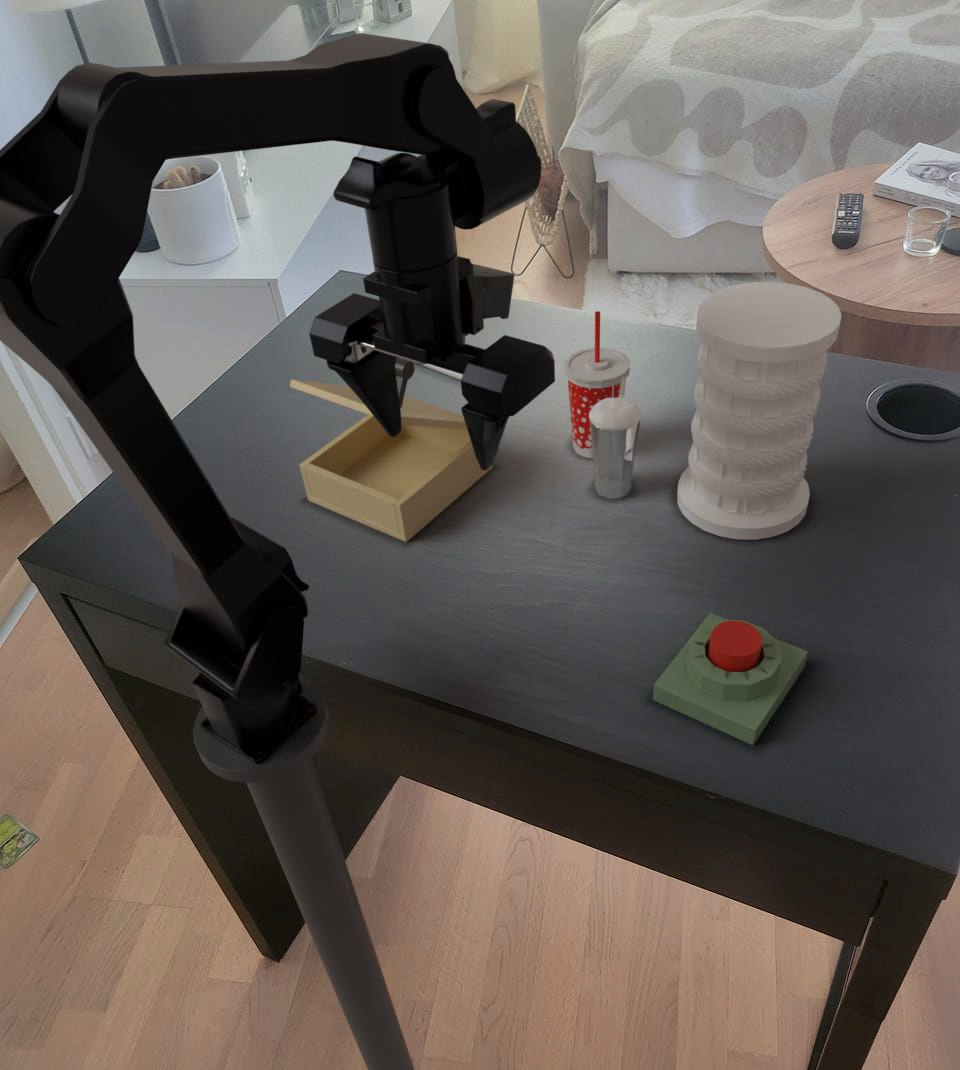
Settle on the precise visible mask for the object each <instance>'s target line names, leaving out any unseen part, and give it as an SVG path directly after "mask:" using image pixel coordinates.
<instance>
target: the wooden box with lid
mask: <svg viewBox="0 0 960 1070" xmlns="http://www.w3.org/2000/svg"><path fill="white" fill-rule="evenodd" d="M415 368H416V367H415V363H414V362H411V361H408V360H404V359H401V358H398V357H397V359H396V363H395V370H396V378H397V386H398V394H399V402H400V410H401V425H411V426H425V427H439V428H453V429H466V430H467V426H466V423H465V420H464V417H463V414H462V413H458V412H455V411H453V410H450V409H446V408H444V407H440V406H438V405H434V404H431V403H428V402H425V401H423V400H419V399H416V398H413V397H410V396H406V395H405V394H406V389H407V385H408V380H410V379H412V377H413V375H414V373H415ZM289 388H291V389H294V390H297V391H299V392H303V393H306V394H308V395H312V396H314V397H317V398H319V399H323V400H325V401H328V402H332V403H334V404H336V405H339V406H341V407H345V408H349V409H351V410H354V411H356V412H359V413H363V414H365V415H371V416H373V414H372V413H371V412H370V411H369V409H368V408H367V407H366V406H365V405H364V403H363V402H362V401H361V400H360V398H359V397H358V396H357V395H356V394H355V393H354V392H353V390H352V389H351V388H350V387H349V386H348V385H344V384H343V385H342V384H335V383H325V382H319V381H309V380H301V379H293V378H292V379H290V383H289ZM373 417H374V416H373Z"/></svg>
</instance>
